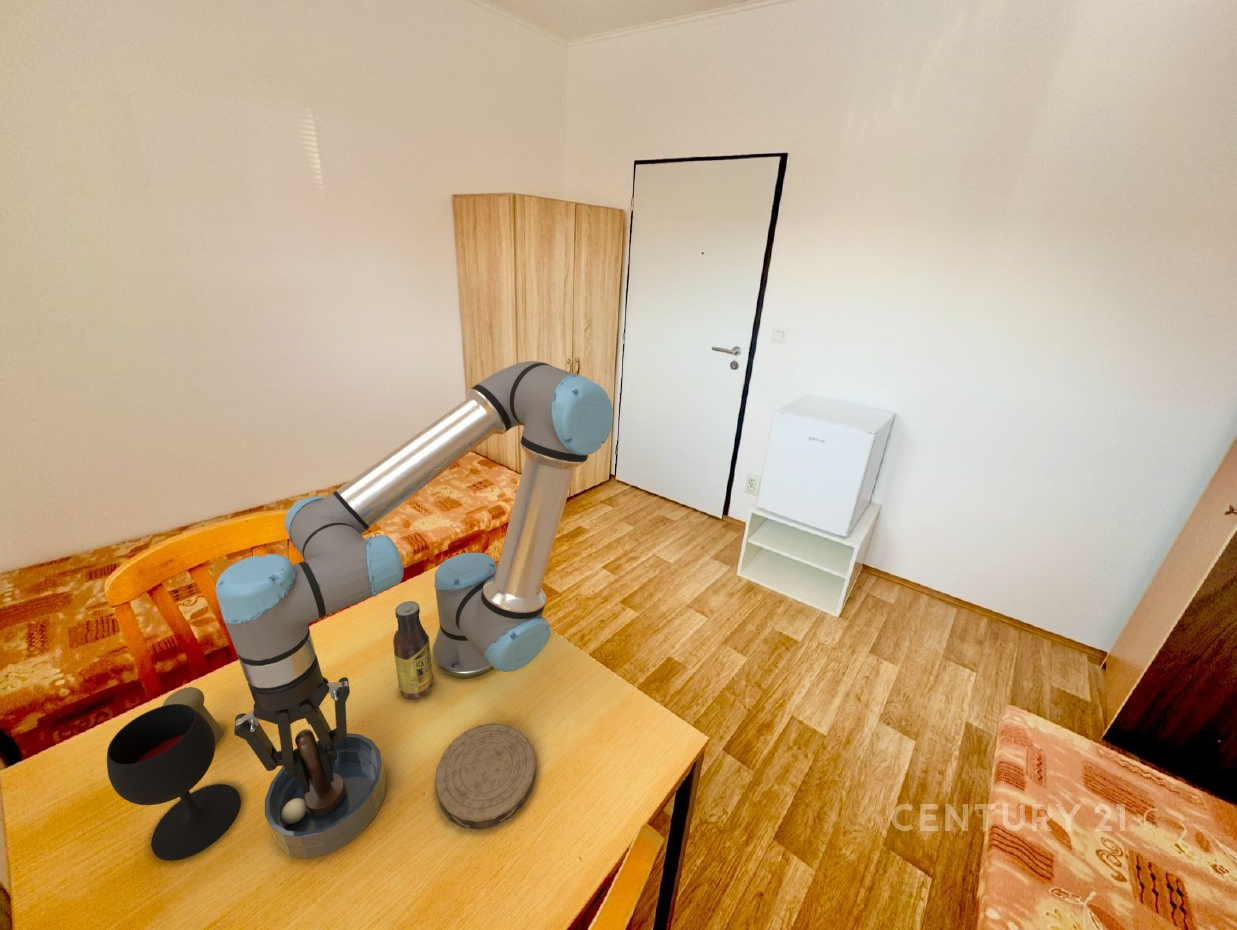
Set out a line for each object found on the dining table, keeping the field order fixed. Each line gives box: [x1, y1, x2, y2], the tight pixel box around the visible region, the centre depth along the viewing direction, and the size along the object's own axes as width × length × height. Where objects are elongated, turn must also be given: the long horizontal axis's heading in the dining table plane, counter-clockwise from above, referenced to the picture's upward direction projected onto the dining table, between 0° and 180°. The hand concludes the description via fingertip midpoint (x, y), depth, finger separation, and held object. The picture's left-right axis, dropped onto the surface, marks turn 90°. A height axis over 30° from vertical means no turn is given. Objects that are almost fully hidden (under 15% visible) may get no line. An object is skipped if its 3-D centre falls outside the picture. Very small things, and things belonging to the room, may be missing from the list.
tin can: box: [434, 722, 536, 832], centre depth 81 cm, size 16×16×3 cm
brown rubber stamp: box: [294, 728, 346, 816], centre depth 72 cm, size 5×5×16 cm
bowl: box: [264, 732, 387, 859], centre depth 75 cm, size 15×15×6 cm
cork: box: [162, 686, 223, 746], centre depth 81 cm, size 6×6×11 cm
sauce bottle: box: [392, 600, 434, 700], centre depth 92 cm, size 7×6×20 cm
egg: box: [281, 798, 307, 824], centre depth 73 cm, size 3×3×3 cm
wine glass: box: [106, 704, 242, 862], centre depth 68 cm, size 10×10×20 cm
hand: (318, 779), depth 72 cm, fingers closed on brown rubber stamp, 2 cm apart
